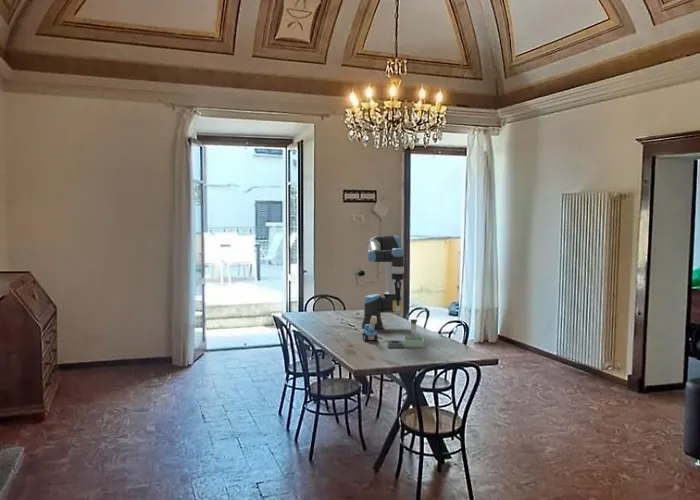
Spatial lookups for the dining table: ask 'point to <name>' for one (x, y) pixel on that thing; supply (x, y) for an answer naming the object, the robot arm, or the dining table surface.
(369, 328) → the toy excavator
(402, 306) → the chock
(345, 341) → the dining table surface
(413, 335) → the stop pin
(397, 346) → the pin holder
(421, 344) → the tray
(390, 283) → the robot arm
